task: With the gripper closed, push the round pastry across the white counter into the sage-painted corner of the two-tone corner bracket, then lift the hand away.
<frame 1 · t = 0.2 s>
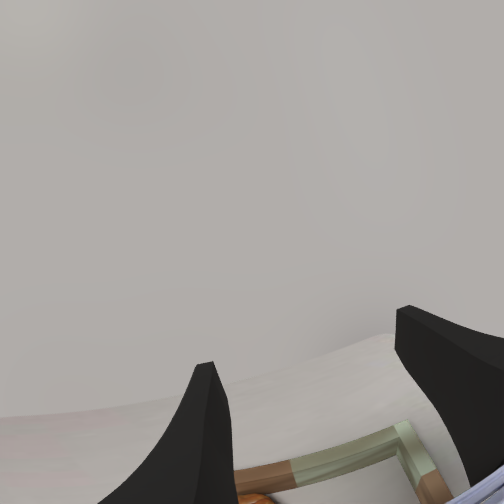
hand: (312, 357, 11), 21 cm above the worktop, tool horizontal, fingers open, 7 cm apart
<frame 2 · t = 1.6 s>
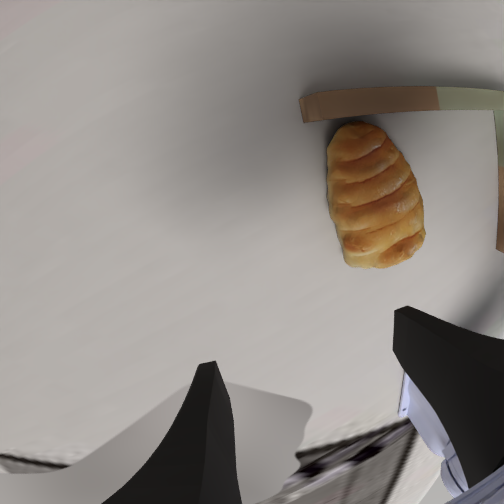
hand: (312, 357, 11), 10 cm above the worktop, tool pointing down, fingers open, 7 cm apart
two-tone corner bracket: (428, 187, 21), on the worktop
pastry: (363, 198, 21), on the worktop
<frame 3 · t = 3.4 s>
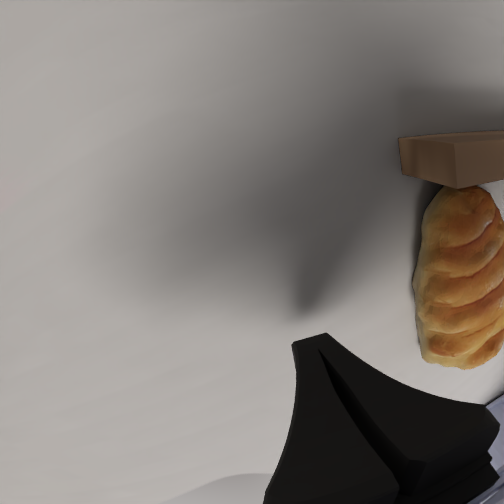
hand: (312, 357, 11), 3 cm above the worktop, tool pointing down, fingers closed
pastry: (448, 276, 15), on the worktop
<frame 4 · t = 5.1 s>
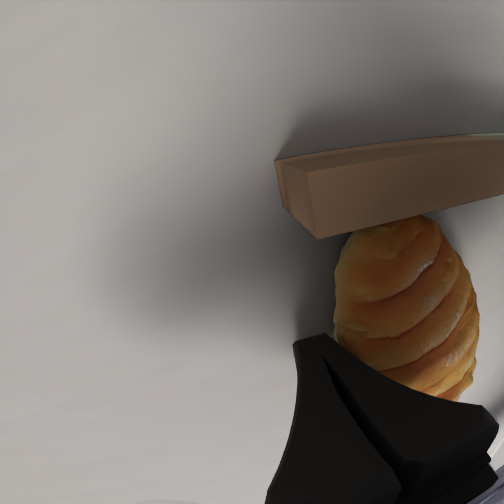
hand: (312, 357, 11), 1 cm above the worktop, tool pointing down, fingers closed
two-tone corner bracket: (474, 286, 13), on the worktop
pastry: (391, 317, 13), on the worktop, touching gripper
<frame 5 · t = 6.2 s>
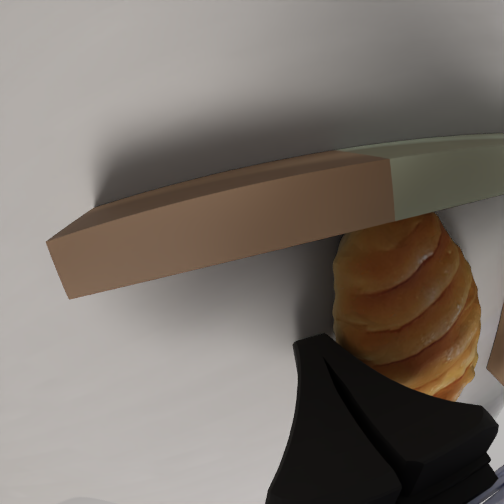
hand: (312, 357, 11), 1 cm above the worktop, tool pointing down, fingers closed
two-tone corner bracket: (373, 325, 12), on the worktop
pastry: (391, 312, 13), on the worktop, touching gripper
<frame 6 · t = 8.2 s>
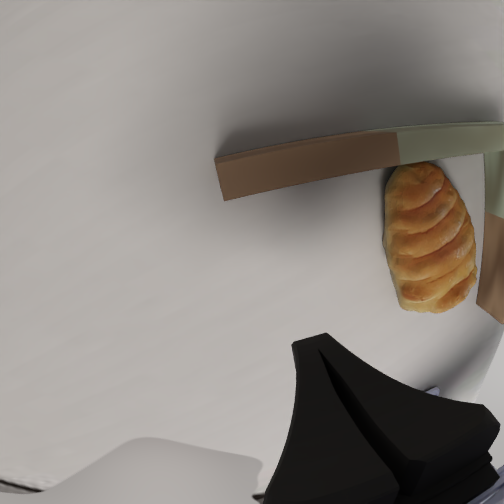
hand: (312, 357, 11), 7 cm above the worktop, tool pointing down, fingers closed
two-tone corner bracket: (389, 249, 18), on the worktop
pastry: (416, 237, 19), on the worktop
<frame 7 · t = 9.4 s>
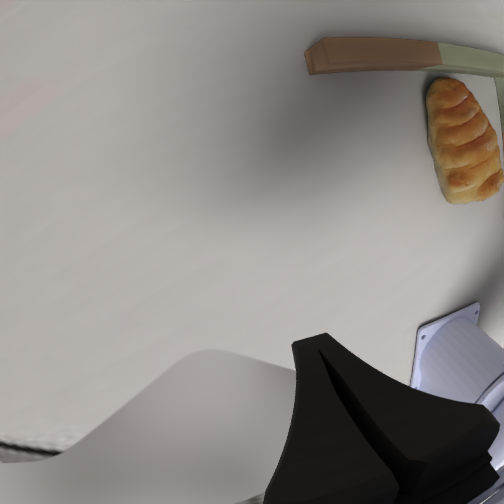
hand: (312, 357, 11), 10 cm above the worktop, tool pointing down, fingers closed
two-tone corner bracket: (434, 146, 20), on the worktop
pastry: (451, 145, 20), on the worktop
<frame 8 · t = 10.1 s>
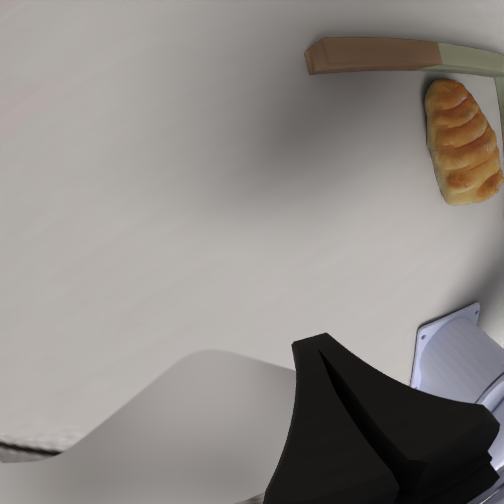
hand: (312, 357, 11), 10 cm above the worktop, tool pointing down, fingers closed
two-tone corner bracket: (434, 146, 20), on the worktop
pastry: (450, 146, 20), on the worktop
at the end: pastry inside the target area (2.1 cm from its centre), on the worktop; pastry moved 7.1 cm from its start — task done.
